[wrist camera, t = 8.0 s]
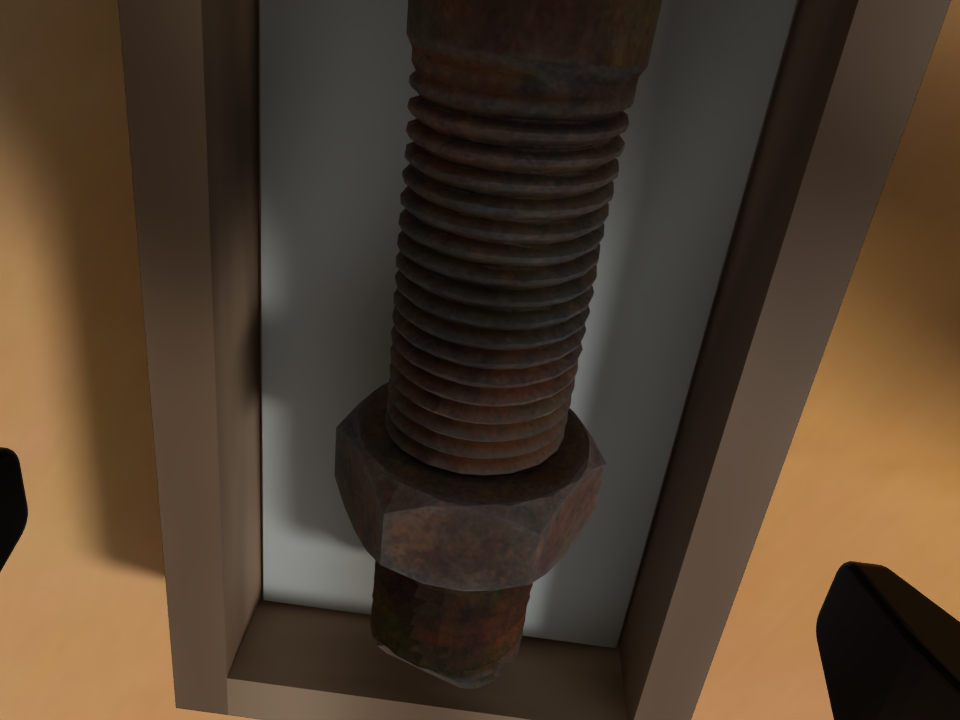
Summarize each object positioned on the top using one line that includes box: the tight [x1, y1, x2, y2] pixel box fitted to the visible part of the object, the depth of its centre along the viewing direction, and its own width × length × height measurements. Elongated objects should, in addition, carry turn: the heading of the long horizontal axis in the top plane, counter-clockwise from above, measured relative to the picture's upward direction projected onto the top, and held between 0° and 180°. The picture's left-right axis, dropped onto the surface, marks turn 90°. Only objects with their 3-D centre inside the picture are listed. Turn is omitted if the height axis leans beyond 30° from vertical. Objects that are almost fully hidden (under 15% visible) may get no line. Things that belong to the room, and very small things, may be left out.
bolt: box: [334, 0, 662, 689], centre depth 13 cm, size 6×5×15 cm
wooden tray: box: [118, 0, 951, 720], centre depth 15 cm, size 11×20×4 cm, turn 173°
